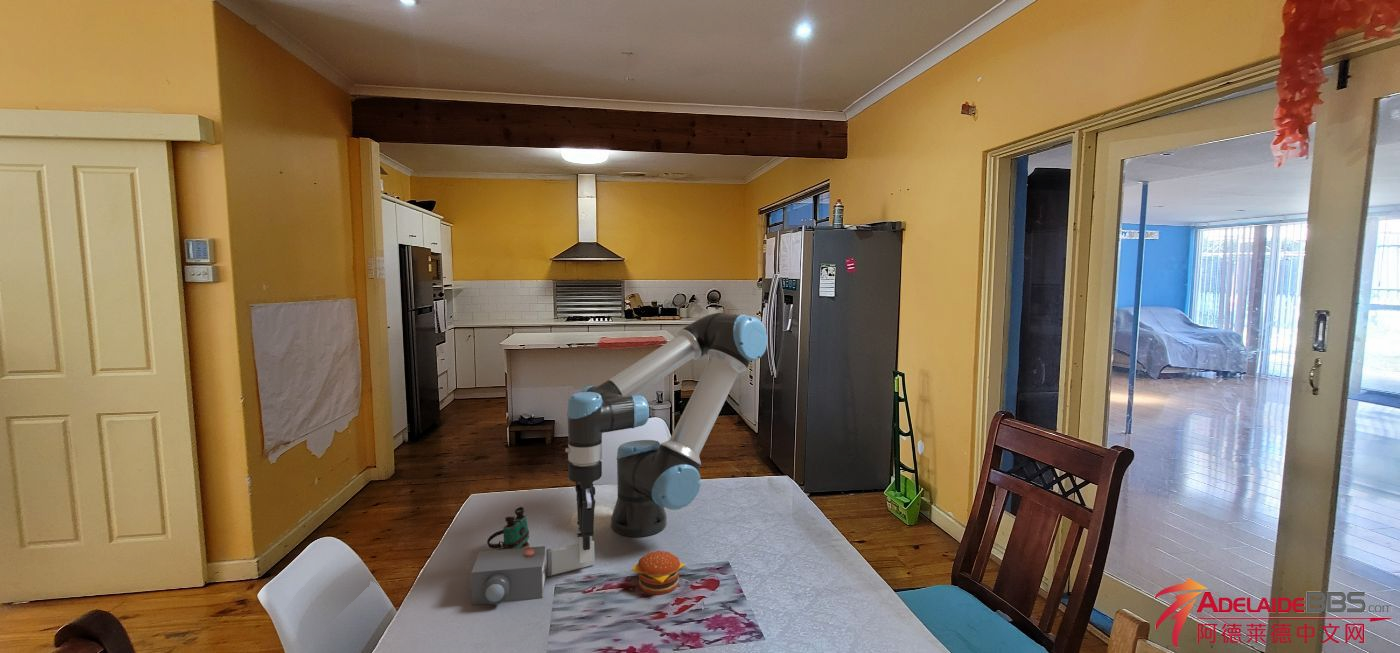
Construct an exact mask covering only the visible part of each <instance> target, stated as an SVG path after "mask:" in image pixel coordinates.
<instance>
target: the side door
mask: <svg viewBox="0 0 1400 653" xmlns="http://www.w3.org/2000/svg"><path fill="white" fill-rule="evenodd" d="M545 558H546V577H551V576H554V575H557V574H558V575H559V574H561V573H567V572H569V571H574V570H579V569H582V568H586V567H587V568H588V567H589V566H595V541H594V540H592V561H590V562H584V563H580V561H579V543H576V544H572V545H568V546H564V547H559V548H555V549H551V548H547V549H545Z"/></svg>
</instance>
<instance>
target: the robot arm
mask: <svg viewBox="0 0 1400 653" xmlns="http://www.w3.org/2000/svg"><path fill="white" fill-rule="evenodd" d="M767 346H768V334H767V330H766V327H765V325H764V323H763V322H762V321H761V320H760V319H759V318H757V317H755V316H751V315H747V314H733V313H723V312H716V313H710V314H708V315H705V316H703V317H701V318H698V319H697V320H695V321H693V322H691V323H689V324H688V325H687V326H685V327H683V328H682V329H680V330H679V331H678V332H677V335H676V337H673V339H671V340H669V341H668V342H666V343H664V344H663V345H662V346H660V347H658V348H656V349H655V350H653V351H652V352H650V353H648V354H647V355H645V356H644V357H641V358H640V359H639V360H637V361H636V362H634V363H633V364H632V365H630V366H628V367H627V368H625V369H623V370H622V371H620V372H619V373H617V374H616V375H614V376H612V377H611V378H609V379H608V380H606V381H604V382H602V383H601V384H599V385H598V386H597V385H588V386H586V387H584V388H583V389H582V390H580V392H576V393H573V394H571V395H569V398H568V400H567V414H566V416H567V437H568V438H567V439H568V440H567V444H568V445H567V446H568V447H567V448H565V453H568V455H567V456H568V457H567V459H568V460H567V461H568V464H567V476H568V477H567V478H568V479H569V481H571V482H573V483H575V486H574V487H575V493H576V508H577V510H576V511H577V513H576V514H577V525H578V531H579V532H577V533H576V535H577V536H576V537H577V538H578V544H579V561H580V563H584V562H590V561H592V541H593V536H594V534H595V532H594V529H595V528H594V527H595V507H596V499H595V495H596V487H595V486H594V482H596V481H597V480H600V479H601V478H602V477H603V476H602V475H603V471H602V470H603V462H602V461H601V460H602V459H603V434H604V433H611V432H616V431H622V430H629V429H636V428H638V427H642V426H645V425H646V424H647V423H648V421H649V419H650V406H649V403H648V401H647V399H646V398H645V397H644V396H643V395H640V394H641V393H642V392H643V391H645V390H647V389H648V388H650V387H651V386H653V385H654V384H656V383H657V382H659V381H660V380H662V379H663V378H665V377H667V376H668V375H669V374H671V373H673V372H674V371H675V370H677V369H679V368H680V367H682V366H683V365H685V364H687V363H688V362H690V360H695V361H696V360H699V359H701V358H702V357H703V356H706V355H707V356H708V358H709V360H708V362H707V364H706V365H705V368H704V370H703V372H702V374H701V375H700V377H699V379H698V382H697V384H696V386H695V388H694V390H693V392H692V394H691V396H690V398H689V400H688V402H687V404H686V406H685V408H684V410H683V411H682V414H681V415H680V418H679V420H678V422H677V423H676V426H675V428H674V430H673V432H672V434H671V436H670V438H669V440H667V441H664V442H662V443H661V442H660V441H658V440H654V439H638V440H632V441H628V442H624V443H622V444H620V445H619V446H618V448H617V452H616V453H617V454H616V460H617V461H616V466H617V470H616V475H617V476H616V480H617V482H616V483H617V499H616V502H615V504H614V508H613V510H612V514H611V518H610V521H611V522H610V526H611V529H612V531H613V532H615V533H617V534H618V535H620V536H621V535H622V536H625V537H631V538H634V537H635V538H637V537H638V538H639V537H641V538H642V537H648V536H651V535H656V534H657V533H661V532H662V531H663V530H665V529H666V527H667V523H668V522H667V518H668V517H667V512H666V509H668V510H671V511H678V510H681V509H683V508H686V507H688V505H690V504H691V503H692V502H693V501H694V500H696V497H697V496H698V494H699V492H700V488H701V484H702V482H701V474H700V472H699V470H700V467H701V465H702V463H701V462H702V461H701V458H700V455H701V452H702V450H703V448H704V446H705V444H706V441H707V440H708V438H709V435H710V433H711V431H712V429H713V427H714V425H715V422H716V421H717V418H718V417H719V414H720V413H721V410H722V408H723V406H724V405H725V403H726V400H727V399H728V395H729V393H730V392H731V389H732V387H733V385H734V384H735V381H736V379H737V378H738V374H740V373H745V372H746V371H747V369H748V368H749V365H750V363H751V362H753V361H757V360H758V359H760V358H762V356H764V355H765V353H766V350H767Z"/></svg>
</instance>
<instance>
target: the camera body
mask: <svg viewBox="0 0 1400 653" xmlns="http://www.w3.org/2000/svg"><path fill="white" fill-rule="evenodd" d="M470 575H471V576H470V577H471V578H470V579H471V603H472V605H484V604H488V605H499V604H501V603H503V602H504V603H505V602H506V603H507V602H514V601H524V600H525V601H526V600H535V599H536V600H537V599H543V597H544V596H543V594H544V588H545V582H546V577H547V564H546V546H543V545H542V546H530V547H528V548H516V549H504V550H497V549H493V550H482V551H479V553H478V555H477V558H476V560H475V563H474V565H473V568H472V570H471V572H470Z"/></svg>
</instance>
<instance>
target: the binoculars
mask: <svg viewBox="0 0 1400 653" xmlns="http://www.w3.org/2000/svg"><path fill="white" fill-rule="evenodd" d="M514 513H515V515H516V517H515V516H506V517H505V519H504V520H505V522H506V525H505V526H503V528H502V529H500V530H497V531H496V532H494V533H493V534H491V535H490V536H489V537H488V538H487V542H486V543H487V546H488V548H490V549H494V550H504V549H516V548H528V547H531V546H530V543H529V542H528V540H529V539H530V530H529V526H528V520H527V516H526V515H525V514H524V513H525V508H524V506H520V507H517V508H516V509H515V510H514ZM500 535H503V541H498V543H490V542H491V541H492V540H493V539H494V538H495V537H498V536H500Z"/></svg>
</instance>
